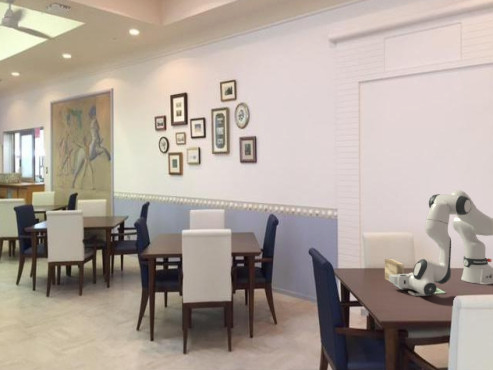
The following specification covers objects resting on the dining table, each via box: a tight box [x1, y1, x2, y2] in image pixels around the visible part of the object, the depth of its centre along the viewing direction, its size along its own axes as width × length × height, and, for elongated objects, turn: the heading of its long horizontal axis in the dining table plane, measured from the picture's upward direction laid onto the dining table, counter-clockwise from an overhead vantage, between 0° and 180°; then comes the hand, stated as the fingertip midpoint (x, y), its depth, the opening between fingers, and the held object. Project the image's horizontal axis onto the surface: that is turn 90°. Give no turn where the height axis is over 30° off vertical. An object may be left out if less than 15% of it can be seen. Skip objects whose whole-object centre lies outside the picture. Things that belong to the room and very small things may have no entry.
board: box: [384, 258, 405, 282], centre depth 249 cm, size 4×14×12 cm, turn 9°
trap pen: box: [407, 290, 426, 297], centre depth 225 cm, size 8×6×1 cm
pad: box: [433, 287, 447, 295], centre depth 232 cm, size 9×16×1 cm, turn 9°
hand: (400, 274), depth 243 cm, fingers closed, pressing on board
